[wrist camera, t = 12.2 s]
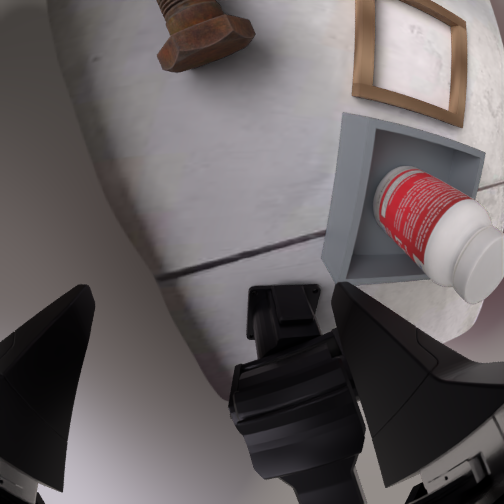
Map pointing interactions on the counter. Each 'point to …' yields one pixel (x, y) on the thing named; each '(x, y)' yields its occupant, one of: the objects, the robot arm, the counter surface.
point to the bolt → (200, 34)
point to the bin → (364, 187)
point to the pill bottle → (441, 231)
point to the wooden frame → (367, 91)
